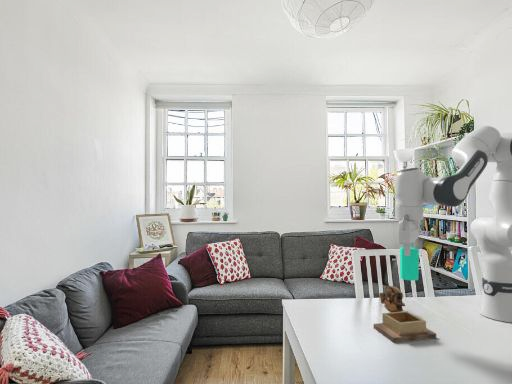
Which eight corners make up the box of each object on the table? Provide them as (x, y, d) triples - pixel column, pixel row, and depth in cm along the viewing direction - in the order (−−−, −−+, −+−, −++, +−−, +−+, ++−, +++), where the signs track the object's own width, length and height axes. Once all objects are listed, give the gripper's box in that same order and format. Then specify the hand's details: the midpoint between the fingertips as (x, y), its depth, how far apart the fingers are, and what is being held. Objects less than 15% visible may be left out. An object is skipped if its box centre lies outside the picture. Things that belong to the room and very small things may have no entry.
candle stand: (412, 324, 120) (412, 309, 120) (436, 338, 108) (435, 321, 108) (373, 328, 117) (373, 312, 117) (393, 342, 105) (392, 325, 105)
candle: (421, 281, 108) (421, 245, 108) (401, 279, 109) (401, 244, 109) (416, 276, 113) (416, 242, 114) (398, 275, 115) (398, 242, 115)
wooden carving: (375, 304, 142) (375, 281, 143) (385, 303, 143) (384, 281, 143) (399, 318, 126) (398, 292, 126) (409, 317, 127) (408, 291, 127)
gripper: (414, 216, 101) (414, 260, 101) (422, 213, 118) (423, 251, 118) (393, 215, 105) (393, 258, 104) (404, 213, 122) (404, 249, 121)
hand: (409, 254), depth 111 cm, fingers closed on candle, 5 cm apart
